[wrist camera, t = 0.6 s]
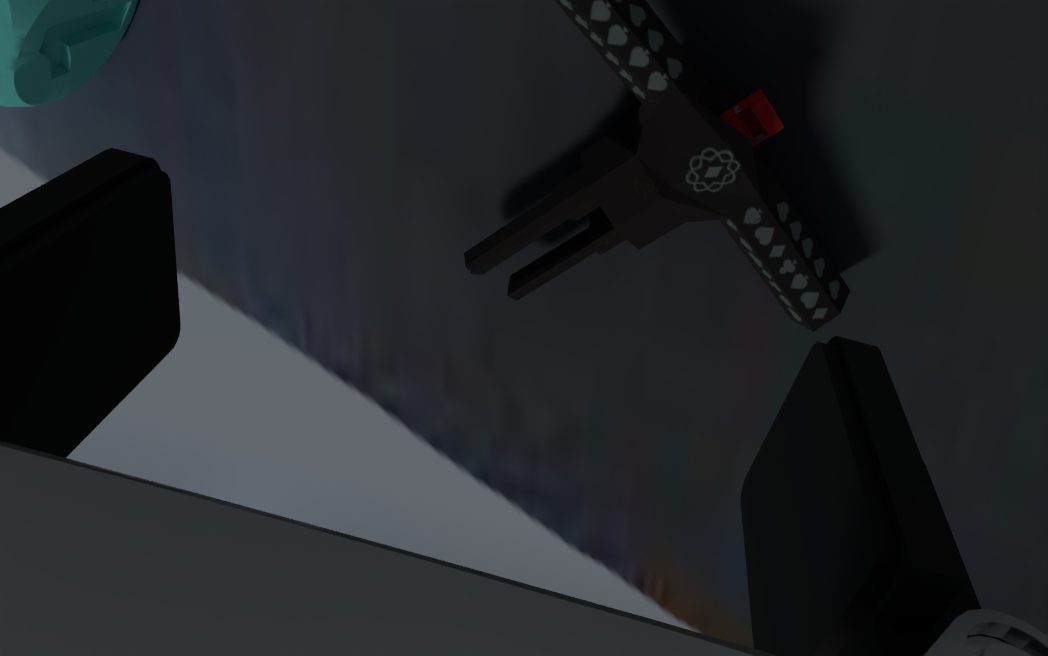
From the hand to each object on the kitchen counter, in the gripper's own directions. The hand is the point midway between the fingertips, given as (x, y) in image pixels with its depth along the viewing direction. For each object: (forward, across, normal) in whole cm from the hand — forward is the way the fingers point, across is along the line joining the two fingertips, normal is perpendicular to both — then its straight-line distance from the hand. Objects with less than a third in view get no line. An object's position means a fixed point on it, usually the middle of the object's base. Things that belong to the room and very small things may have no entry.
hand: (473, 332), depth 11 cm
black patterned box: (+26, -3, +8) cm, 27 cm away
